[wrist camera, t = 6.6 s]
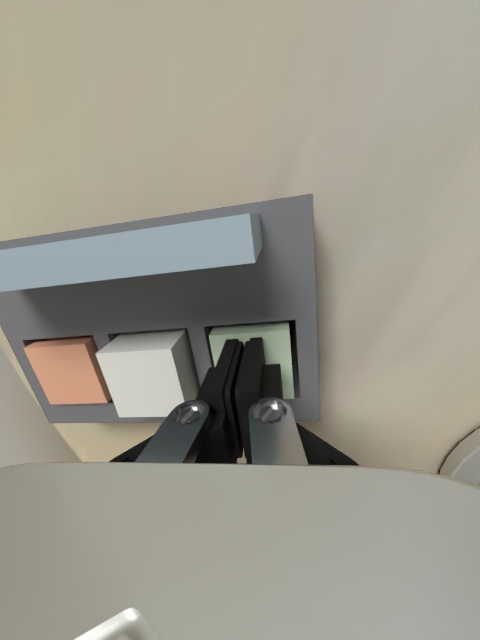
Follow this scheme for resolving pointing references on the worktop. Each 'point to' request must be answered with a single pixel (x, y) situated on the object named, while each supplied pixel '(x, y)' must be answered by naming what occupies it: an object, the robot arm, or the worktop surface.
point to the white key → (149, 371)
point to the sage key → (273, 343)
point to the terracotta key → (69, 370)
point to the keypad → (167, 288)
